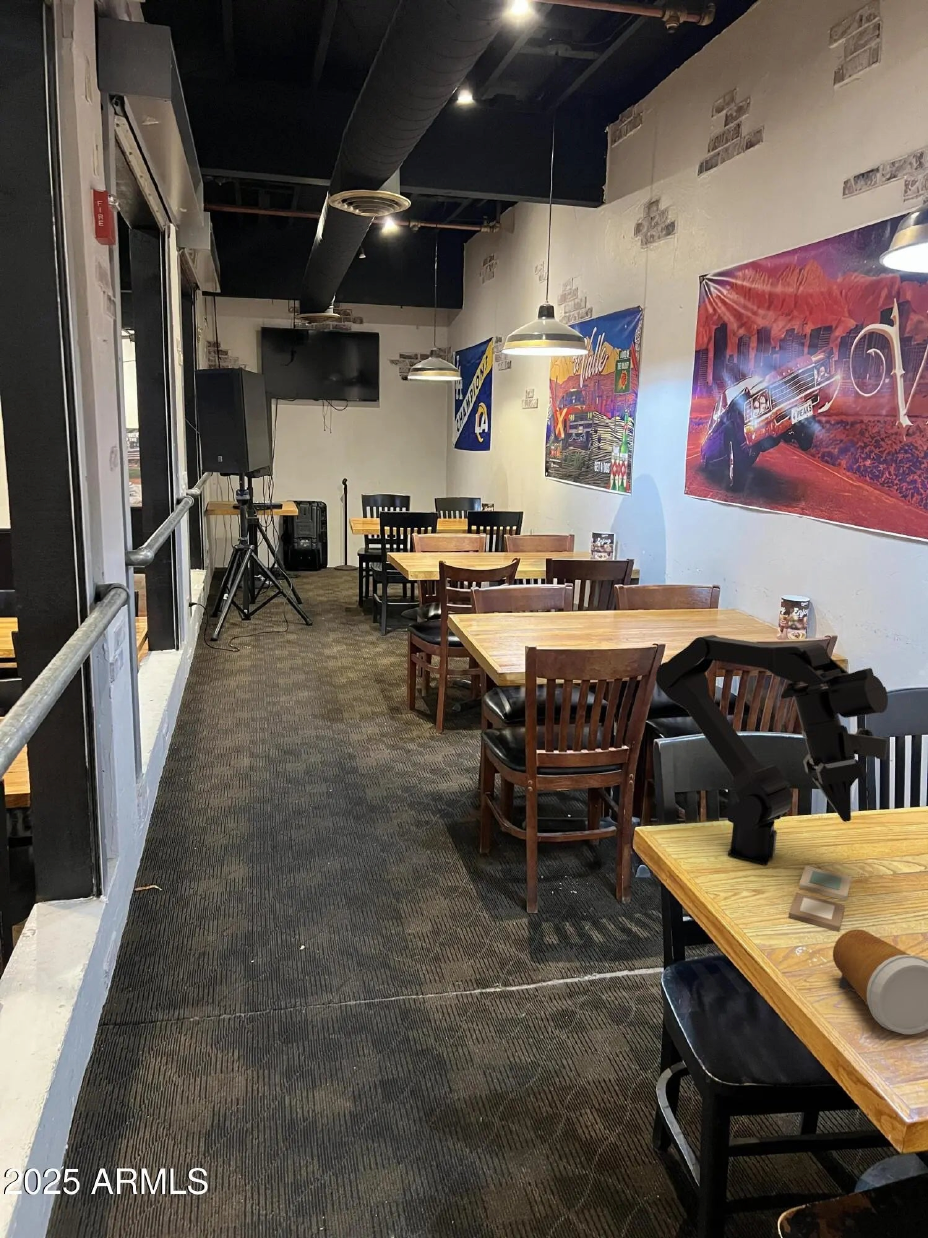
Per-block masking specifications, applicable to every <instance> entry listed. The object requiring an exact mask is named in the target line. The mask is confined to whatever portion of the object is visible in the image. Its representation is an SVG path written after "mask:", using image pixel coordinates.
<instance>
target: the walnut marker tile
mask: <svg viewBox="0 0 928 1238" xmlns="http://www.w3.org/2000/svg"><path fill="white" fill-rule="evenodd" d="M845 907H846V905H845V904H843V903H839V902H835V901H832V900H828V899H827V900H826V899H824V898H820V897H817V896H812V895H808V894H805V893H801V892H798V891H796V892H795V895H794V898H793V900H792V903H791V905H790V908H789V911H788V916H787V917H788V918H789V919H792V920H796V921H800V922H803V923H806V924H809V925H813V926H817V927H821V928H824V929H828V930H831V931H835V932H840V929H841V926H842V921H843V917H844V913H845V909H846V908H845Z"/></svg>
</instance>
